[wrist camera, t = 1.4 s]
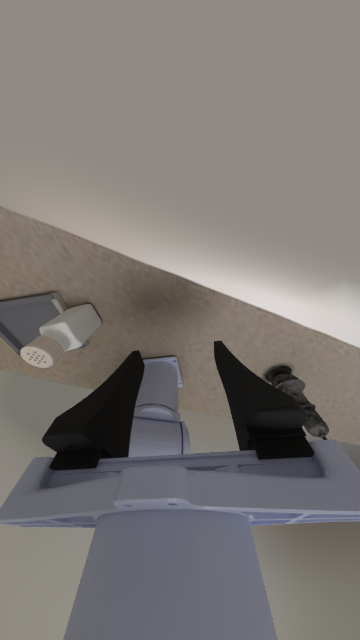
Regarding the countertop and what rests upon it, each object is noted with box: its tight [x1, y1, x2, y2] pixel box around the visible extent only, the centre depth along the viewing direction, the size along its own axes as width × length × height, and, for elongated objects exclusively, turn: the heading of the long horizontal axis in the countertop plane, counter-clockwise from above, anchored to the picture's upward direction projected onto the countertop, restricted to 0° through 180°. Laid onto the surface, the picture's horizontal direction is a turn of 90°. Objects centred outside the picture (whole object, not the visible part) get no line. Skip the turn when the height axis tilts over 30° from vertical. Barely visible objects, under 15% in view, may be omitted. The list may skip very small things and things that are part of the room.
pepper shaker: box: [20, 304, 102, 368], centre depth 19 cm, size 4×4×10 cm
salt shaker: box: [265, 366, 329, 440], centre depth 25 cm, size 6×6×12 cm
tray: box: [0, 291, 89, 355], centre depth 23 cm, size 10×13×1 cm
